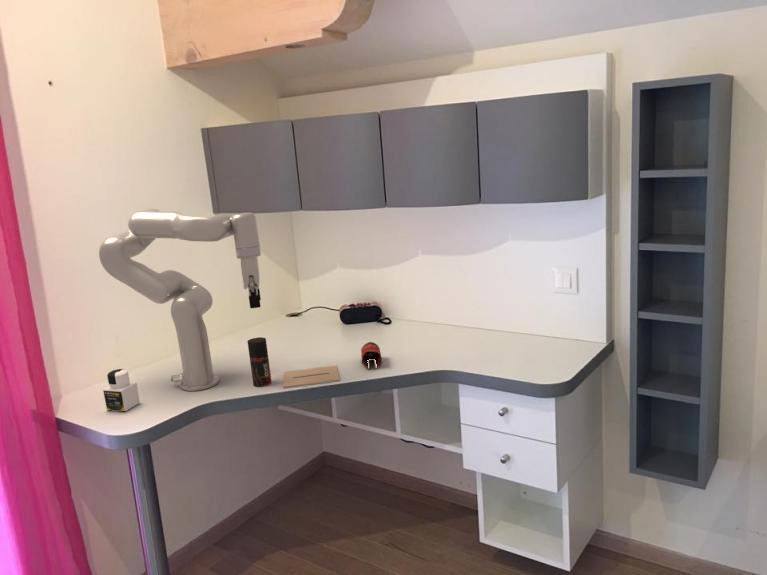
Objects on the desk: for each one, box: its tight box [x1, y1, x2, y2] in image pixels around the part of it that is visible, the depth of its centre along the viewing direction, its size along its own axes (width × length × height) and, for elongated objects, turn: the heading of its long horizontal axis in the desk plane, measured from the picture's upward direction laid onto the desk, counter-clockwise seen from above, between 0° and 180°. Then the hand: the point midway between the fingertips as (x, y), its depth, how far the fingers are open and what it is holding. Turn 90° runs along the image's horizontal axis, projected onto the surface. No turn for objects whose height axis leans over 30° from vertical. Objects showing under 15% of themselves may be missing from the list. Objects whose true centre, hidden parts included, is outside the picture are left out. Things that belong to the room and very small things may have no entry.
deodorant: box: [247, 336, 272, 388], centre depth 213 cm, size 6×6×15 cm
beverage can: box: [360, 341, 383, 370], centre depth 224 cm, size 7×12×7 cm, turn 3°
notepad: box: [282, 365, 340, 389], centre depth 217 cm, size 18×14×1 cm
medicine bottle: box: [103, 368, 141, 412], centre depth 204 cm, size 7×7×12 cm
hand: (255, 304), depth 210 cm, fingers open, 9 cm apart
